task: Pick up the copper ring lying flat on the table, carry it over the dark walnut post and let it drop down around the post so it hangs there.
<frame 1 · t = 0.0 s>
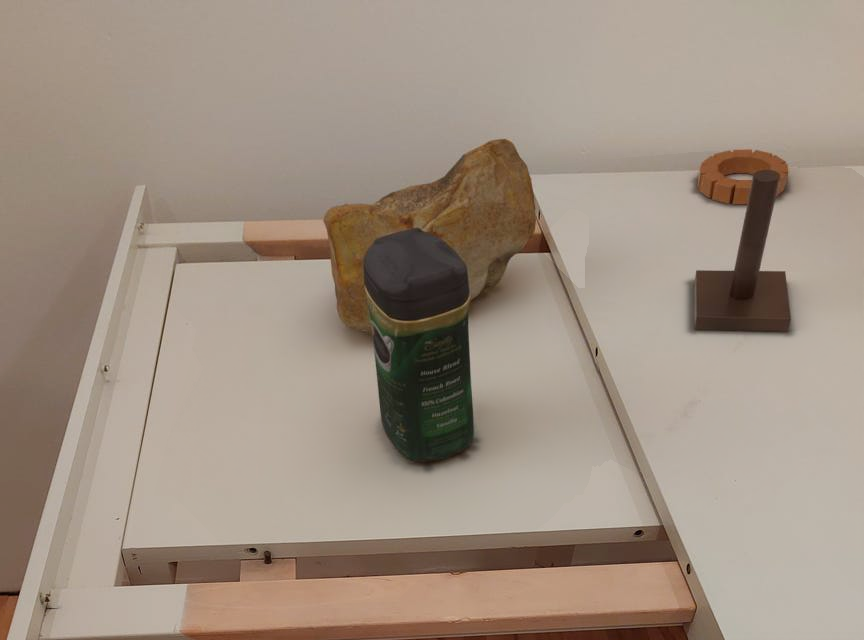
ring: (740, 184, 113), on the table
rough brown rock: (422, 292, 105), on the table
coffee jar: (428, 434, 89), on the table
post stand: (739, 306, 97), on the table
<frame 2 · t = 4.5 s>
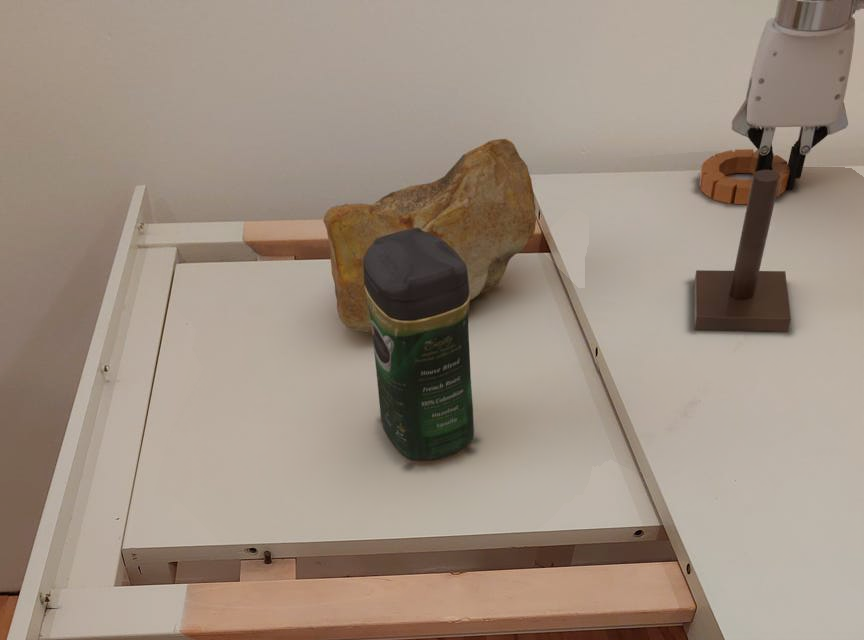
hand: (775, 182, 112), 0 cm above the table, tool pointing down, fingers closed on ring, 2 cm apart
ring: (742, 184, 113), on the table, touching gripper
everything else where it was.
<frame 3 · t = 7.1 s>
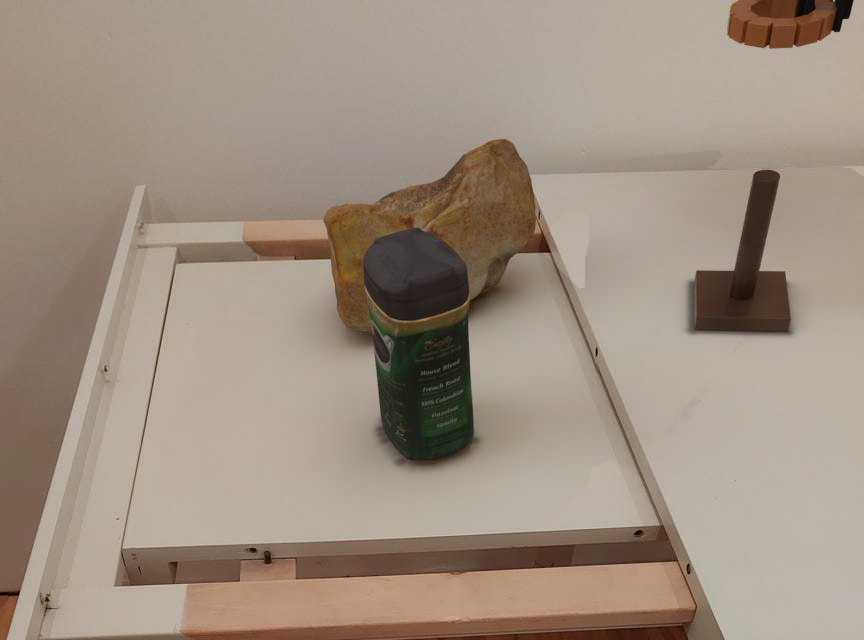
hand: (819, 26, 94), 19 cm above the table, tool pointing down, fingers closed on ring
ring: (778, 29, 95), point 19 cm above the table, touching gripper
everything else where it was.
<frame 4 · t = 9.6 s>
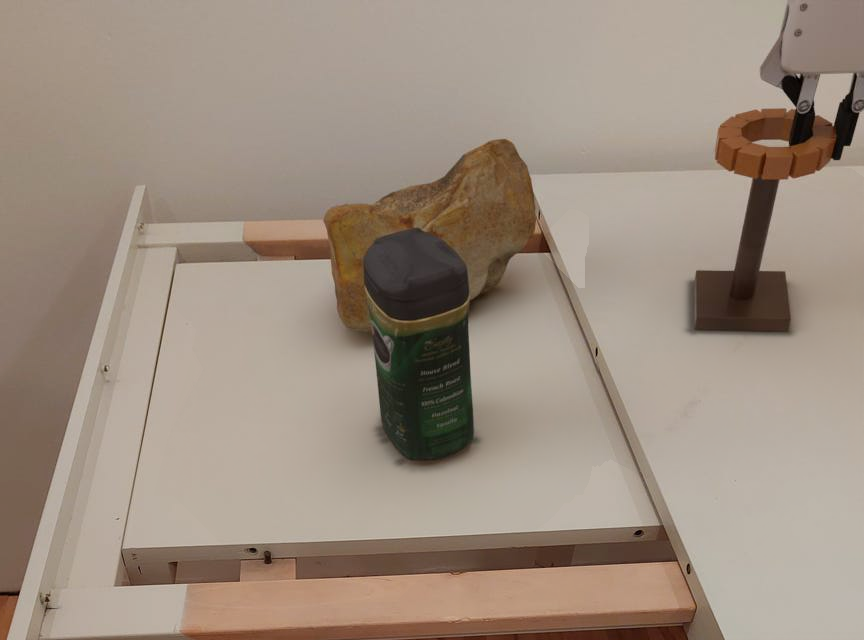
hand: (816, 152, 84), 16 cm above the table, tool pointing down, fingers closed on ring
ring: (771, 154, 85), point 15 cm above the table, touching gripper
everything else where it was.
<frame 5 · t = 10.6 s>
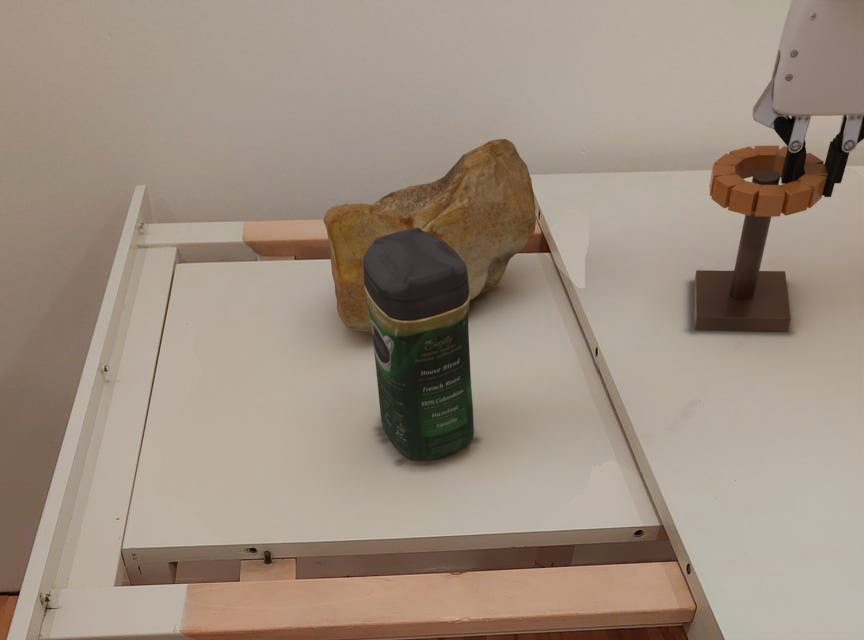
hand: (808, 188, 87), 12 cm above the table, tool pointing down, fingers closed on ring
ring: (764, 190, 88), point 12 cm above the table, touching gripper
everything else where it was.
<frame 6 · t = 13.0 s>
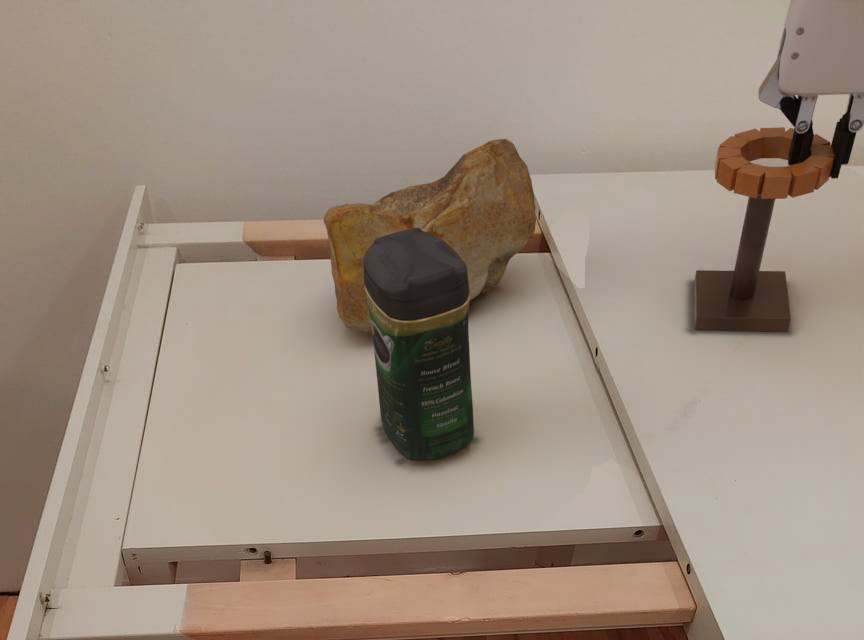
hand: (815, 170, 86), 14 cm above the table, tool pointing down, fingers closed on ring
ring: (770, 173, 87), point 14 cm above the table, touching gripper
everything else where it was.
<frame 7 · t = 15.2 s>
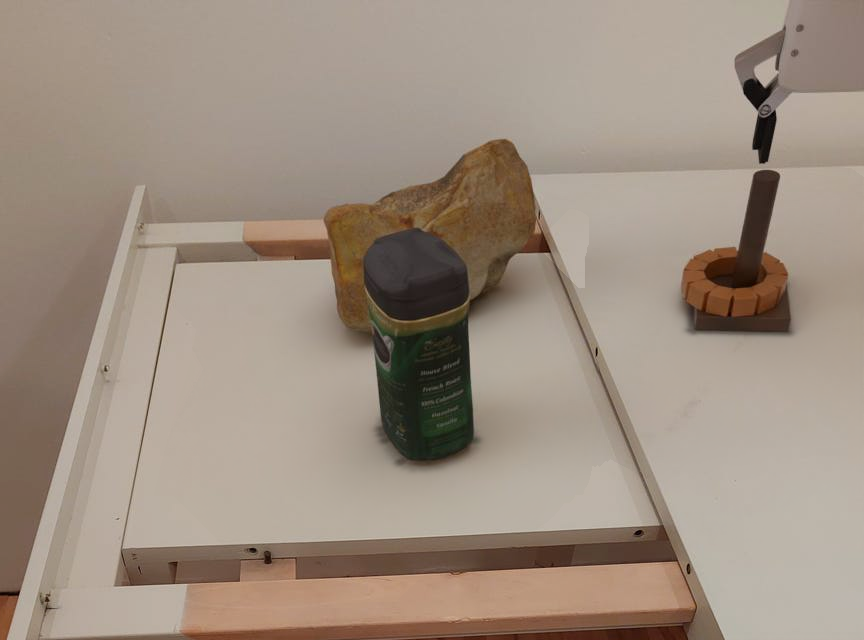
hand: (817, 156, 85), 15 cm above the table, tool pointing down, fingers open, 9 cm apart
ring: (731, 290, 96), point 1 cm above the table, touching post stand
everything else where it was.
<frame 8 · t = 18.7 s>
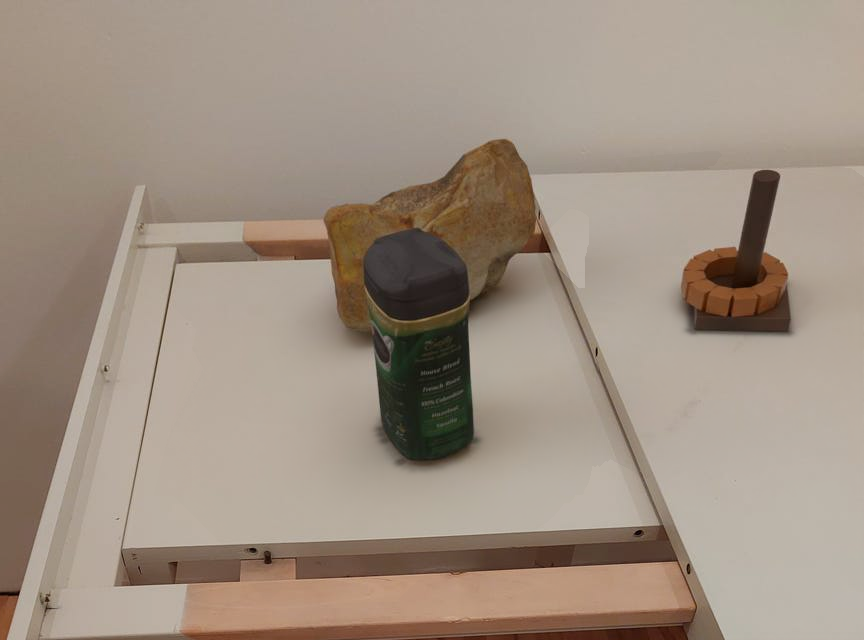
nothing on the table moved.
at the end: ring 1.2 cm from the post stand (horizontally); ring point 1.5 cm above the table; the gripper is holding nothing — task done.
